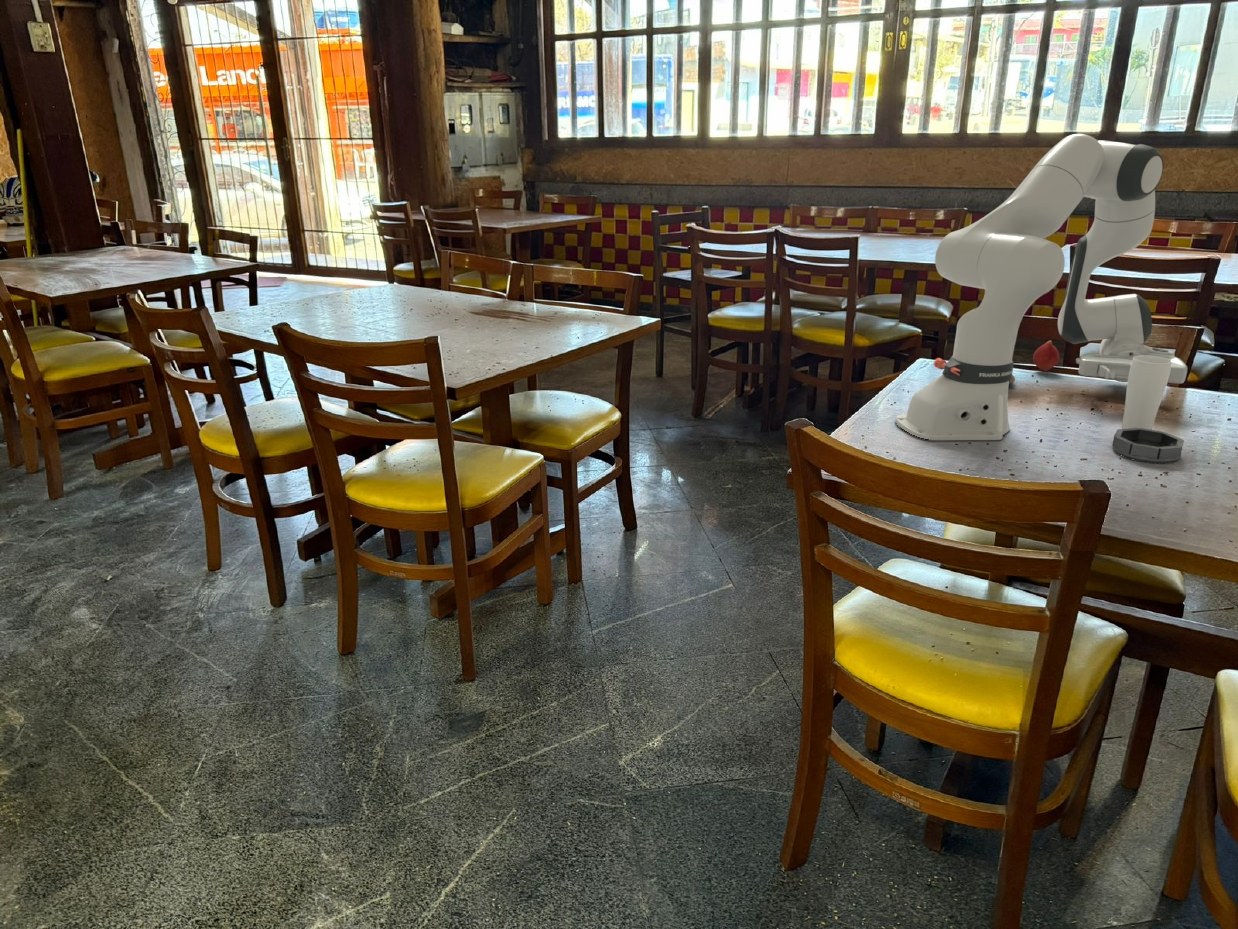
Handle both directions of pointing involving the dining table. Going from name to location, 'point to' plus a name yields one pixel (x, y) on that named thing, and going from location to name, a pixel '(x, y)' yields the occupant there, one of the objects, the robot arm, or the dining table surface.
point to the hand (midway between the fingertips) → (1135, 377)
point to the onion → (1046, 356)
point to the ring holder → (1147, 445)
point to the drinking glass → (1145, 390)
